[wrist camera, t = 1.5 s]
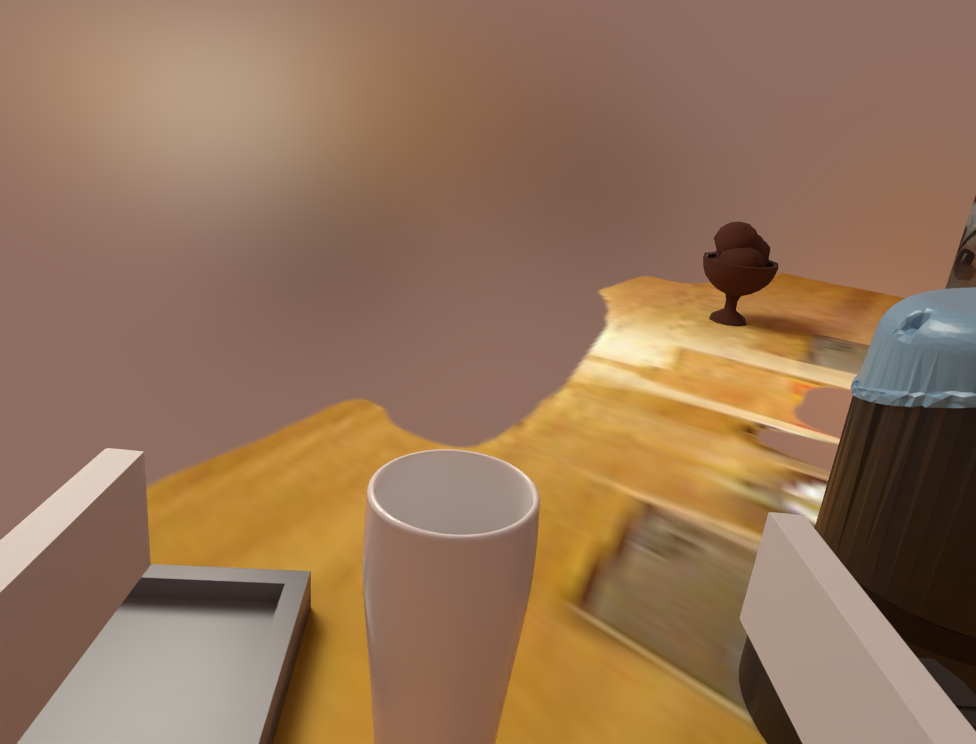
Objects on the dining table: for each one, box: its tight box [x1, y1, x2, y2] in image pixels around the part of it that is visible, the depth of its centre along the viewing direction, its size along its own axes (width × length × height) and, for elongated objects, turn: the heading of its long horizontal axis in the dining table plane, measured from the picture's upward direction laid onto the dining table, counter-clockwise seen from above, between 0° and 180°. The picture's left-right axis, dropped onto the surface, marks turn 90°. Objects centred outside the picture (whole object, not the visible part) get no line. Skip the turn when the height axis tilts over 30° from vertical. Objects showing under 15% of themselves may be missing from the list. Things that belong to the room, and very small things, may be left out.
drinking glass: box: [363, 449, 540, 744], centre depth 30 cm, size 7×7×15 cm
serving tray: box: [17, 564, 311, 744], centre depth 34 cm, size 17×15×2 cm
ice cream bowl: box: [703, 222, 778, 326], centre depth 108 cm, size 11×11×15 cm
